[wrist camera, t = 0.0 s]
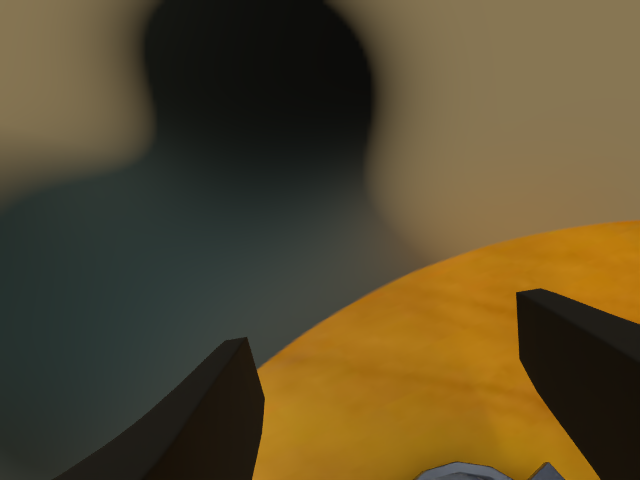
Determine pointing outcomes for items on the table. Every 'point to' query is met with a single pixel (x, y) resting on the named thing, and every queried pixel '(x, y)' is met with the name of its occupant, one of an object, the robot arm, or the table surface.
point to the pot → (482, 473)
